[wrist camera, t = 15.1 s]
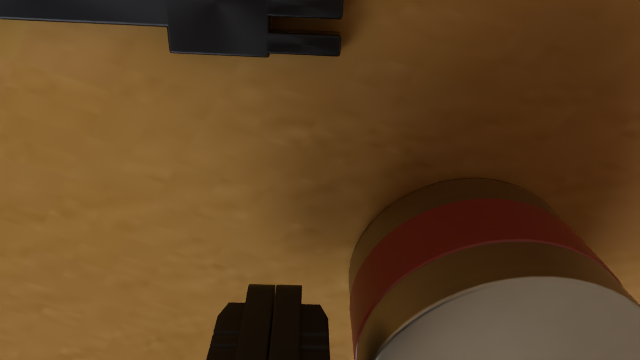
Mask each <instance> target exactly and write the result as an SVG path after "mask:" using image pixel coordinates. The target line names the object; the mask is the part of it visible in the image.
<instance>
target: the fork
mask: <svg viewBox="0 0 640 360" xmlns="http://www.w3.org/2000/svg"><path fill="white" fill-rule="evenodd" d="M343 4H344V0H0V19H7V20H28V21H50V22H71V23H93V24H114V25H136V26H157V27H167V32H168V42H169V50H170V52H171V53H178V54H200V55H223V56H245V57H269V55H270V54H292V55H314V56H336V57H338V56H340V50H341V35H340V33H339V32H328V31H307V30H286V29H271V16H277V17H298V18H319V19H342V17H343Z"/></svg>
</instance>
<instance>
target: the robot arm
mask: <svg viewBox="0 0 640 360" xmlns="http://www.w3.org/2000/svg"><path fill="white" fill-rule="evenodd" d="M301 298H302V285H277V286H276V294H275V285H262V284H249V287H248V292H247V297H246V302H245V303H228V304H227V305H226V307H225V308H224V309H223V310H222V312H221V313H220V314H219V315H218V317H217V321H216V325H215V329H214V334H213V336H212V340H211V344H210V348H209V352H208V356H207V359H206V360H330V350H329V328H328V318H327V316H326V314H325V312H324V311H323V309H322V307H321V306H320V305H312V304H301Z"/></svg>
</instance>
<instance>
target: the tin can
mask: <svg viewBox="0 0 640 360" xmlns="http://www.w3.org/2000/svg"><path fill="white" fill-rule="evenodd" d="M349 290H350V318H351V329H352V340H353V351H354V360H640V305H639V304H638V303H637V302H636V301H635V300H634V299H633V297H632V296H631V295H630V294H629V293H628V292H627V291H626V290H625V289H624V288H623V286H622V284H621V283H620V281H619V279H618V278H617V277H616V276H615V275H614V274H613V273H612V271H611V270H610V269H609V268H608V267H607V266H606V265H605V264H604V263H603V262H602V261H601V260H600V258H599V257H598V256H597V255H596V254H595V253H594V252H593V251H592V250H591V249H590V248H589V247H588V246H587V245H586V243H585V242H584V241H583V240H582V239H581V238H580V237H579V236H578V235H577V234H576V233H575V232H574V231H573V230H572V228H571V227H570V226H568V225H567V224H566V223H565V222H563V221H562V220H561V219H560V218H559V217H558V216H557V215H556V214H555V213H554V212H553V211H552V210H551V209H550V207H549V206H548V205H547V204H546V203H544V202H543V201H542V200H541V199H539V198H538V197H537V196H535V195H533V194H532V193H530V192H528V191H526V190H525V189H522V188H520V187H517V186H514V185H512V184H508V183H504V182H500V181H496V180H487V179H459V180H451V181H446V182H442V183H437V184H433V185H430V186H428V187H425V188H422V189H419V190H417V191H415V192H413V193H411V194H409V195H407V196H405V197H403V198H401V199H400V200H398V201H397V202H395V203H394V204H392V205H391V206H389V207H388V208H387V209H386V210H385V211H383V212H382V213H381V214H380V215H379V216H378V217H377V218H376V219H375V220H374V221H373V222H372V223H371V224H370V225H369V227H368V228H367V230H366V231H365V232H364V234H363V235H362V236H361V238H360V240H359V242H358V244H357V246H356V248H355V250H354V253H353V256H352V259H351V263H350V268H349Z"/></svg>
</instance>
